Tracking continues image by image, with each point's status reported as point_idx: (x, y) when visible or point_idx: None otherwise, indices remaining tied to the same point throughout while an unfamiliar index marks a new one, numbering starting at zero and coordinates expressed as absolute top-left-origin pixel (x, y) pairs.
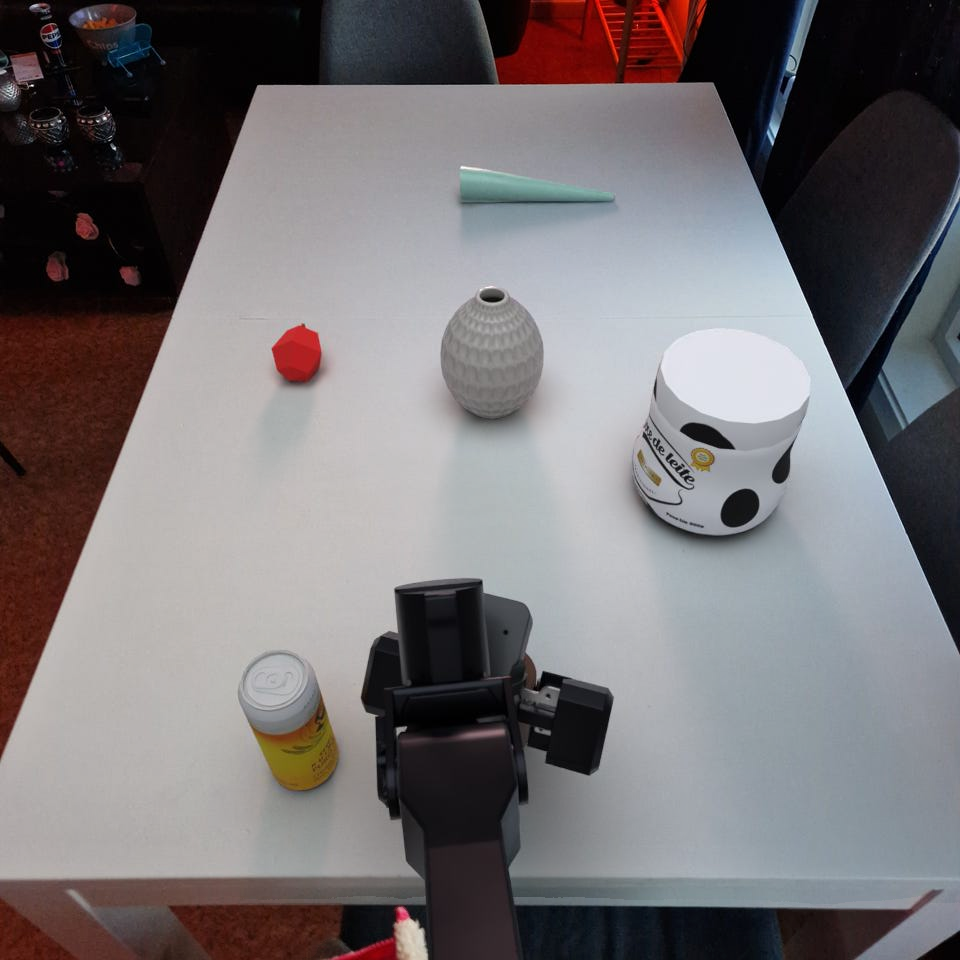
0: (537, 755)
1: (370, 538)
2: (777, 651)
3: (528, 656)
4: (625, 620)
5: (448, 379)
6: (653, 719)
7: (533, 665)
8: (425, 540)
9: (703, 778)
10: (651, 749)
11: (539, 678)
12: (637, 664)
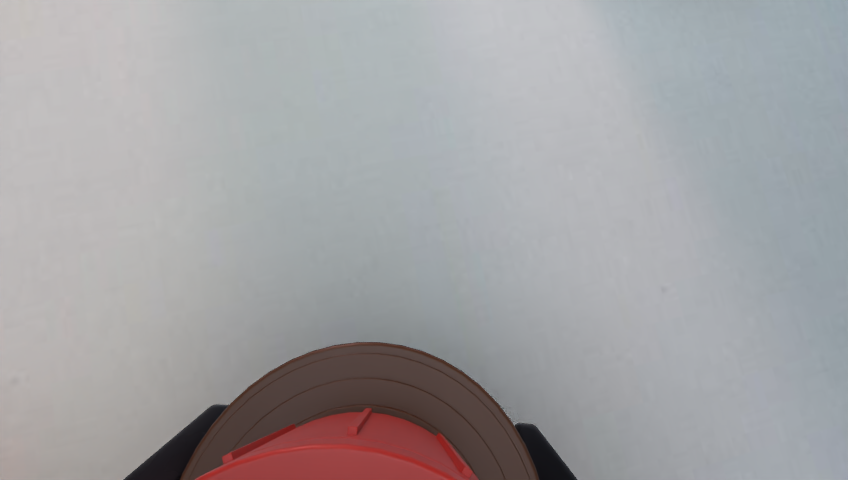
0: None
1: (26, 26)
2: (841, 135)
3: (479, 391)
4: (576, 121)
5: None
6: (679, 316)
7: (515, 438)
8: (151, 15)
9: (802, 423)
10: (693, 383)
11: (526, 441)
12: (620, 206)
